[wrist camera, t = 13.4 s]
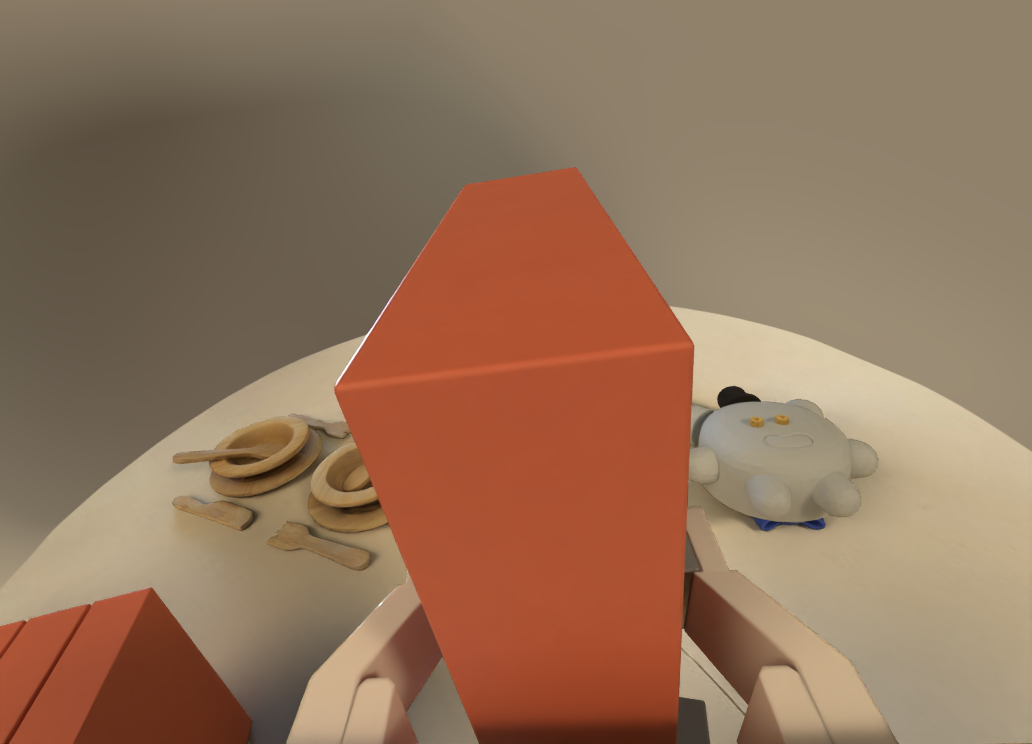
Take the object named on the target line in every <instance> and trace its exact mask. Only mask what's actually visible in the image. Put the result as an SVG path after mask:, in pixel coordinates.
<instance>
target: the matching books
mask: <svg viewBox="0 0 1032 744" xmlns="http://www.w3.org/2000/svg"><path fill="white" fill-rule="evenodd" d="M251 724H252V720H251V718H250V717H249V716H248V714H247V713H246V712H245V710H244V709H243V708H242V706H241V705H240V704H239V702H238V701H237V700H236V698H235V697H234V696H233V694H232V693H231V692H230V690H229V689H228V688H227V686H226V685H225V684H224V682H223V681H222V680H221V678H220V677H219V676H218V674H217V673H216V672H215V670H214V669H213V668H212V666H211V665H210V664H209V663H208V661H207V660H206V659H205V657H204V656H203V655H202V653H201V652H200V651H199V649H198V648H197V647H196V645H195V644H194V643H193V641H192V640H191V639H190V637H189V636H188V635H187V633H186V632H185V631H184V629H183V628H182V627H181V625H180V624H179V623H178V621H177V620H176V619H175V617H174V616H173V615H172V613H171V612H170V611H169V609H168V608H167V607H166V605H165V604H164V603H163V601H162V600H161V599H160V597H159V596H158V595H157V593H156V592H155V591H154V589H153V588H151V587H150V588H147V589H143V590H139V591H135V592H131V593H127V594H123V595H120V596H116V597H112V598H108V599H104V600H100V601H96V602H94V603H93V605H92V606H91V605H90V604H85V605H81V606H77V607H73V608H69V609H66V610H62V611H58V612H54V613H50V614H46V615H42V616H38V617H35V618H31V619H29V620H28V622H26V621H24V620H23V621H19V622H15V623H11V624H7V625H3V626H0V744H247V742H248V738H249V733H250V729H251Z"/></svg>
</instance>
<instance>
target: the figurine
mask: <svg viewBox="0 0 1032 744" xmlns="http://www.w3.org/2000/svg"><path fill="white" fill-rule="evenodd" d="M717 400H718V405H719V407H720V409H718V410H716V411H714V412H713V411H712V410H711V409H709V408H706V407H703V406H700V405H692V410H691V433H690V444H691V445H694V446H698V447H695V448H692V449H690V456H689V479H691V480H692V481H694V482H697V483H702V484H703V485H704V487H705V488H706V489H707V491H708V492H709V493H710V494H711V495H712V496H713V497H714V498H715V499H717V500H718V501H720V502H721V503H723V504H724V505H726V506H727V507H729V508H731V509H733V510H735V511H737V512H740V513H743V514H745V515H748V516H752V517H753V518H754V520H755V522H756V524H757V525H758V526H759V527H760V528H761V529H762V530H764V531H768V530H771V529H773V528H774V527H776V526H777V525H779V524H780V523H781V524H783V525H793V524H800V522H801V523H802V524H804V525H806V526H808V527H810V528H812V529H817V530H818V529H823V528H824V527H825V522H824V519H823V517H826V516H828V515H833V516H836V517H848V516H852V515H853V514H854V513H856V512H857V511H858V510H859V507H860V505H861V497H860V494H859V492H858V490H857V489H856V487H855V486H854V484H853V483H852V482H851V481H850V480H849V478H861V477H866V476H869V475H871V474H873V473H874V472H875V470H876V468H877V465H878V457H877V454H876V452H875V450H874V449H873V448H872V447H870V446H869V445H868V444H866V443H864V442H861V441H857V440H853V439H847V438H846V437H845V435H844V434H843V433H842V432H841V431H840V430H839V429H838V428H837V427H836V426H835V425H834V424H832V423H831V422H830V421H829V420H827V419H826V418H824V415H823V413H822V411H821V409H820V408H819V407H818V406H817V405H816V404H815V403H812V402H810V401H808V400H801V399H797V400H791V401H789V402H787V403H785V404H784V403H776V402H761V401H760V399H759V398H758V397H756V396H755V395H752V394H748V393H746V392H745V391H744V390H743V389H741V388H740V387H736V386H730V387H726V388H724V389H722V391H721V392H720V393H719V395H718V398H717Z"/></svg>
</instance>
